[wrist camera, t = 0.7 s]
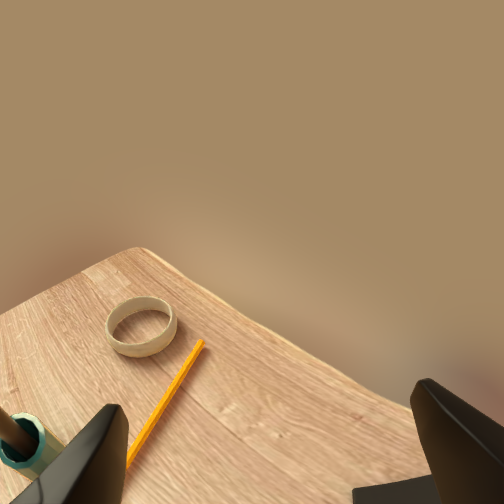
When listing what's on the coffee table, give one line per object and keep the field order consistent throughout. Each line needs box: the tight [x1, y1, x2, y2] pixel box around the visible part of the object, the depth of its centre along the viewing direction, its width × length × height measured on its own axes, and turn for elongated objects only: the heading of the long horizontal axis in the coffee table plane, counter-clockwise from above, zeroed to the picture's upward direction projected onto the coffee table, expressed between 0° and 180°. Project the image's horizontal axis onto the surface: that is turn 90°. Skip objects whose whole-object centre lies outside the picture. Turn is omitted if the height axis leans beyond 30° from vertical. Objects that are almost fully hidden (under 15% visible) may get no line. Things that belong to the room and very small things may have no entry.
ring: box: [105, 296, 177, 357], centre depth 32 cm, size 8×8×2 cm
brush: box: [0, 407, 39, 460], centre depth 14 cm, size 2×2×14 cm
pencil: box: [126, 339, 205, 471], centre depth 24 cm, size 1×18×1 cm, turn 161°
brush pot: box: [0, 412, 66, 482], centre depth 17 cm, size 5×5×5 cm
